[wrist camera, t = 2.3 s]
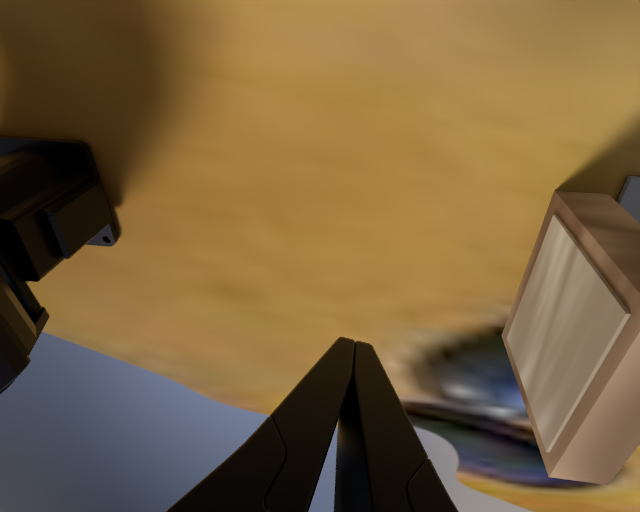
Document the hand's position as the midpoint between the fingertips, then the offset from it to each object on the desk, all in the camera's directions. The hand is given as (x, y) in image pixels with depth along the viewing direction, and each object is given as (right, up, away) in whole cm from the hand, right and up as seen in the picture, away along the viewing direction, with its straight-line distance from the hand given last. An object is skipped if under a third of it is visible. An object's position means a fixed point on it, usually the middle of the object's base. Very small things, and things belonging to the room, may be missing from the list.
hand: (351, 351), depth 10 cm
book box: (+12, +1, +13) cm, 17 cm away
